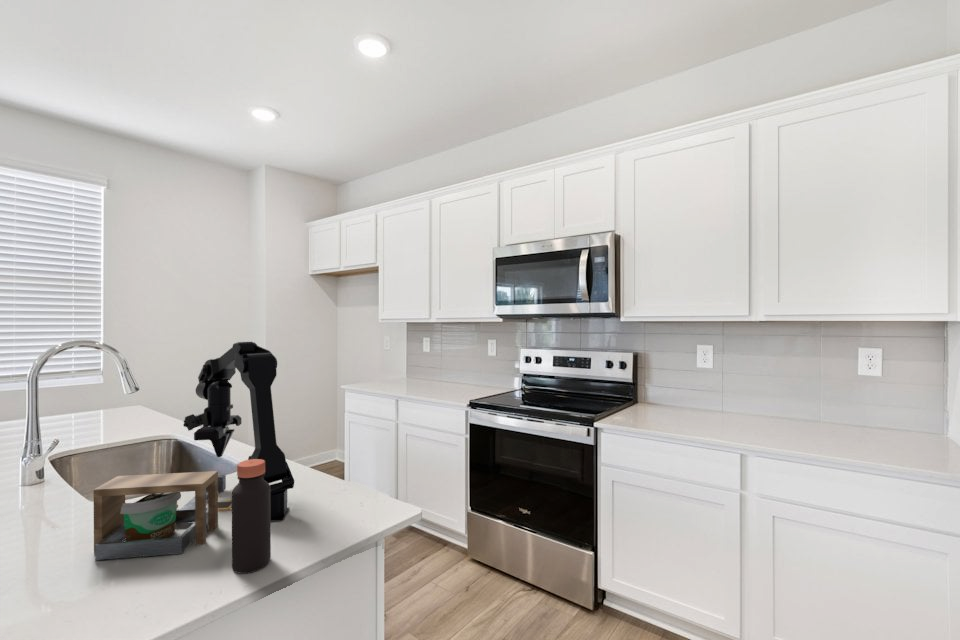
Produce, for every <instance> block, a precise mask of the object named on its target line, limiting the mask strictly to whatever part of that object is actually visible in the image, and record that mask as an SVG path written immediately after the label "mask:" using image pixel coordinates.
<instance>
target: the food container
mask: <svg viewBox="0 0 960 640" xmlns="http://www.w3.org/2000/svg"><path fill="white" fill-rule="evenodd" d="M181 493H182V492H171V493H154V494H146V495H145V496H144V497H142V498H140V499H139V500H136V501H135V502H125V503H123V506H122V507H121V512H120V514H124V523H125V532H126V539H125V541H132V540H146V539H159V538H173V536H174V535H175V532H176V531H175V529H176V523H175V520H176V510H177V509H178V508H177V507H178V506H177V504H178V501H179V500H180V499H181V498H182V494H181Z"/></svg>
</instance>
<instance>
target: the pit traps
mask: <svg viewBox="0 0 960 640" xmlns="http://www.w3.org/2000/svg"><path fill="white" fill-rule="evenodd" d="M177 507H179V503H177ZM231 510H232V500H222V501H218V512H219V511H220V512H221V511H231Z"/></svg>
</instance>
